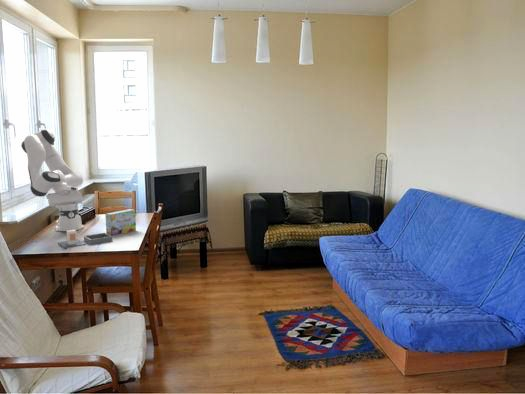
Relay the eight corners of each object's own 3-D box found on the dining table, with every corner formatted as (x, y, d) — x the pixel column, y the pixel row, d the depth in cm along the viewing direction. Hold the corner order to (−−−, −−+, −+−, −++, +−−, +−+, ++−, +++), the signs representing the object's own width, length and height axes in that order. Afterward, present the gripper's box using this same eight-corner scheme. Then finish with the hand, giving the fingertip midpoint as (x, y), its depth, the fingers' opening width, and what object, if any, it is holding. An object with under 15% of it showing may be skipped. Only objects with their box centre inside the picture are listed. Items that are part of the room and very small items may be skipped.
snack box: (111, 237, 296) (110, 214, 294) (106, 236, 299) (104, 213, 297) (136, 230, 314) (135, 209, 311) (131, 229, 317) (129, 208, 314)
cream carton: (67, 243, 276) (66, 230, 275) (75, 242, 279) (74, 229, 278) (69, 244, 273) (68, 231, 271) (77, 243, 275) (76, 230, 274)
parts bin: (84, 241, 285) (83, 235, 284) (105, 238, 293) (105, 232, 292) (90, 245, 274) (90, 239, 274) (112, 242, 282) (112, 236, 281)
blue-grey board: (58, 243, 280) (58, 242, 280) (78, 240, 287) (78, 239, 287) (64, 249, 267) (64, 247, 267) (85, 245, 274) (85, 244, 274)
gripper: (46, 190, 281) (51, 208, 275) (80, 187, 294) (86, 204, 288) (44, 197, 285) (50, 214, 279) (78, 193, 298) (84, 210, 292)
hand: (68, 209), depth 283 cm, fingers open, 8 cm apart
